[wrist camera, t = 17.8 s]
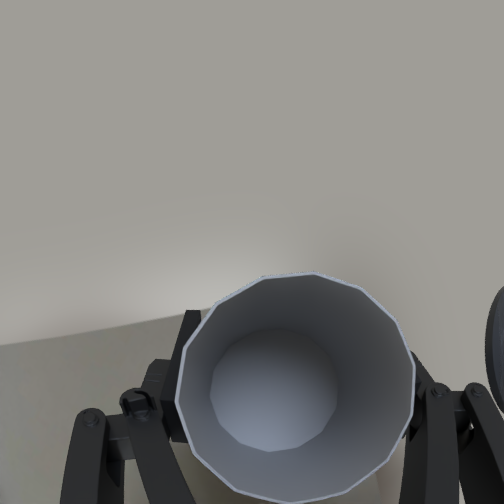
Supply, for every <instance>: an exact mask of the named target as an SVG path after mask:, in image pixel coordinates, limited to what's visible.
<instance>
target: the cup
mask: <svg viewBox="0 0 504 504" xmlns="http://www.w3.org/2000/svg"><path fill="white" fill-rule="evenodd" d="M415 370H416V365H415V362H414V360H413V357H412V355H411V352H410V350H409V347H408V345H407V342H406V340H405V337H404V335H403V333H402V330H401V328H400V325H399V323H398V321H397V320H396V319H395V318H394V317H393V316H392V315H391V314H390V313H389V312H388V311H387V310H386V309H385V308H384V307H383V306H382V305H380V304H379V303H378V302H377V301H376V300H375V299H374V298H373V297H372V296H371V295H370V294H368V293H367V292H366V291H365V290H364V289H363V288H362V287H360V286H357V285H354V284H350V283H348V282H345V281H342V280H339V279H336V278H332V277H330V276H327V275H324V274H321V273H318V272H315V271H311V272H302V273H291V274H281V275H270V276H262V277H260V278H258V279H256V280H255V281H253V282H251V283H249V284H248V285H246V286H244V287H242V288H241V289H239V290H237V291H235V292H233V293H232V294H230V295H228V296H226V297H224V298H223V299H221V300H219V301H217V302H216V303H215V304H214V305H213V307H212V308H211V309H210V311H209V312H208V313H207V315H206V316H205V318H204V319H203V320H202V322H201V323H200V325H199V326H198V327H197V329H196V330H195V332H194V333H193V334H192V336H191V337H190V339H189V340H188V341H187V343H186V344H185V346H184V347H183V352H182V358H181V364H180V370H179V376H178V382H177V389H176V396H175V405H176V408H177V411H178V414H179V417H180V420H181V423H182V426H183V429H184V431H185V434H186V437H187V440H188V442H189V445H190V448H191V450H192V453H193V455H194V456H195V457H196V458H197V459H198V460H199V461H201V462H202V463H203V464H204V465H205V466H206V467H207V468H208V469H209V470H210V471H211V472H212V473H214V474H215V475H216V476H217V477H218V478H219V479H220V480H221V481H223V482H224V483H225V484H226V485H227V486H228V487H230V488H231V489H232V490H233V491H234V492H237V493H241V494H244V495H248V496H251V497H255V498H259V499H263V500H267V501H271V502H275V503H280V504H302V503H307V502H312V501H317V500H322V499H326V498H330V497H335V496H339V495H342V494H345V493H347V492H348V491H350V490H351V489H353V488H354V487H355V486H357V485H358V484H360V483H361V482H362V481H364V480H365V479H366V478H368V477H369V476H370V475H372V474H373V473H374V472H375V471H377V470H378V469H379V468H380V467H382V466H383V465H384V464H385V463H387V462H388V461H389V459H390V457H391V456H392V454H393V452H394V450H395V449H396V447H397V445H398V443H399V441H400V439H401V438H402V436H403V434H404V432H405V430H406V428H407V426H408V424H409V422H410V420H411V418H412V416H413V408H414V394H415Z"/></svg>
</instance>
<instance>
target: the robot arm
mask: <svg viewBox="0 0 504 504" xmlns="http://www.w3.org/2000/svg"><path fill="white" fill-rule="evenodd" d="M200 323H201V313H200V310H186V312H185V315H184V319H183V322H182V325H181V328H180V331H179V335H178V338H177V341H176V344H175V348H174V351H173V354H172V358H171V360H164V359H155V360H154V361H153V362H152V363H151V364H150V365H149V367H148V370H147V372H146V375H145V378H144V381H143V383H142V386H141V388H133V389H130V390H127V391H126V392H124V393H123V394H122V395H121V397H120V401H119V403H120V406H121V408H122V411H123V414H118V415H109V416H105V414H104V413H103V412H102V411H101V410H99V409H96V408H88V409H85V410H83V411H81V412H80V413H79V414H78V415H77V417H76V419H75V423H74V427H73V432H72V436H71V441H70V445H69V450H68V455H67V460H66V466H65V471H64V477H63V484H62V490H61V497H60V504H124V467H125V460H129V459H136V462H137V466H138V469H139V472H140V476H141V479H142V482H143V485H144V488H145V491H146V494H147V497H148V500H149V503H150V504H196V502H195V500H194V498H193V496H192V494H191V492H190V490H189V488H188V486H187V483H186V481H185V479H184V477H183V474H182V472H181V470H180V467H179V465H178V463H177V460H176V458H175V455H174V453H173V450H172V448H171V445H170V443H169V439H170V436H171V439H172V442H181V443H189V442H188V440H187V437H186V434H185V431H184V429H183V426H182V423H181V420H180V417H179V414H178V411H177V408H176V405H175V396H176V389H177V382H178V376H179V370H180V364H181V358H182V352H183V347H184V346H185V344H186V343H187V341H188V340H189V339H190V337H191V336H192V334H193V333H194V332H195V330H196V329H197V327H198V326H199V325H200ZM410 352H411V355H412V357H413V360H414V362H415V365H416V370H415V394H414V408H413V416H412V418H411V420H410V422H409V424H408V426H407V428H406V430H405V432H404V434H403V436H402V438H404V436H405V435H406V445H405V458H404V468H403V477H402V485H401V492H400V499H399V504H459V480H460V483H461V488H462V492H463V495H464V500H465V504H504V420H503V418H502V416H501V414H500V412H499V410H498V408H497V407H496V405H495V403H494V401H493V399H492V397H491V395H490V394H489V392H488V390H487V389H486V388H485V386H483V385H482V384H479V383H470V384H468V385H467V386H466V388H465V390H464V391H451V390H450V389H449V388H448V387H447V386H446V385H444V384H442V383H435V382H434V380H433V379H432V377H431V376H430V375H429V373H428V372H427V370H426V369H425V368H424V366H422V363H421V362H420V361H418V358H417V357H416V355H415V354H414V353H413V352H412V351H410ZM471 424H472V425H473V427H474V428H473V429H472V427H471Z"/></svg>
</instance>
